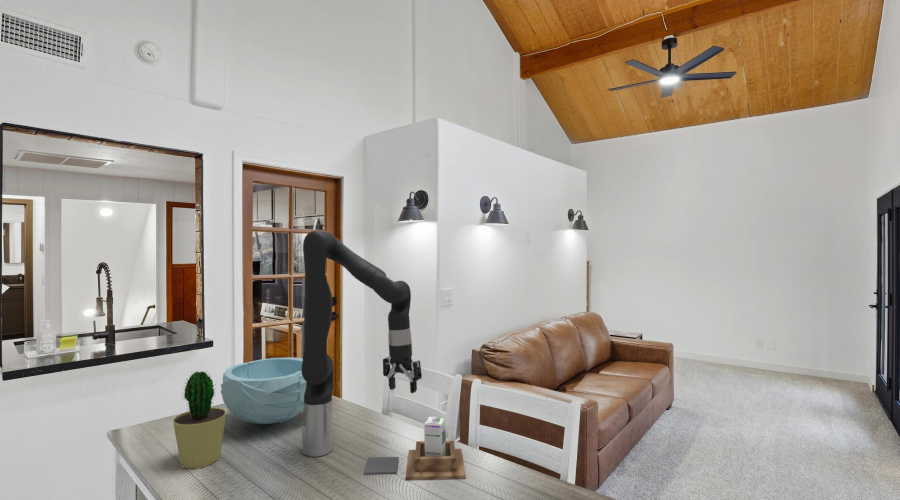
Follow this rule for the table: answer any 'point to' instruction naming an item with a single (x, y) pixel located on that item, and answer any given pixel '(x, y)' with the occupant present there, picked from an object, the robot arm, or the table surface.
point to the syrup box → (435, 437)
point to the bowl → (265, 390)
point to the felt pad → (381, 465)
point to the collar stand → (435, 464)
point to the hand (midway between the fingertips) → (402, 390)
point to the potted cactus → (199, 424)
